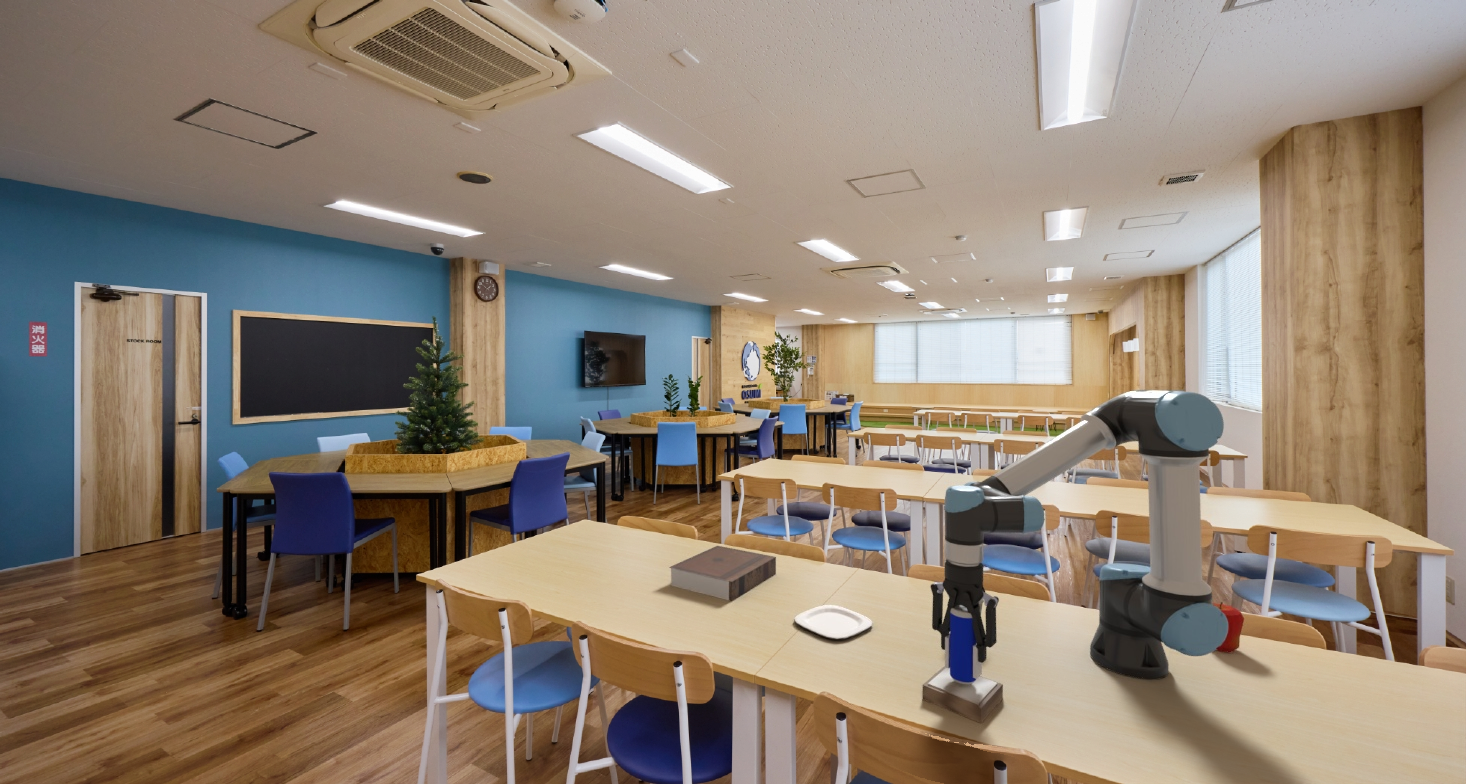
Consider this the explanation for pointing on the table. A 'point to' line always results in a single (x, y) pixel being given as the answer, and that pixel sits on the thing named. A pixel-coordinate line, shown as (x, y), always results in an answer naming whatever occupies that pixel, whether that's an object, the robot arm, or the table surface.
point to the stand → (963, 695)
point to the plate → (833, 621)
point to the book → (723, 572)
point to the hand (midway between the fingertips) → (963, 670)
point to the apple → (1231, 628)
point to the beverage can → (961, 645)
